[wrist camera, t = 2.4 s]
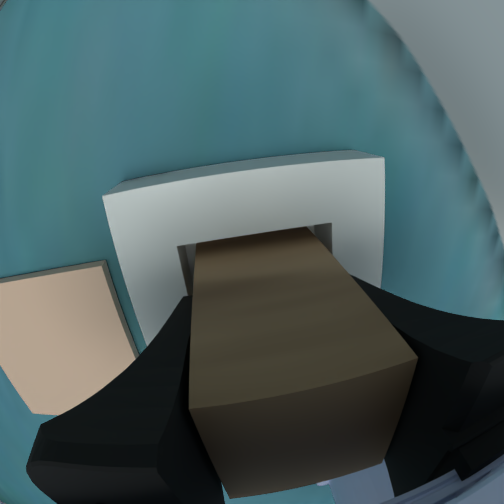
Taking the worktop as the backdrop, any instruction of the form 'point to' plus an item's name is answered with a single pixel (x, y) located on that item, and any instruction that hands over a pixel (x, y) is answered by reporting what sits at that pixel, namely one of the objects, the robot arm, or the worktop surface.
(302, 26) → the worktop surface
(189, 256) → the pocket block
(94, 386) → the pad
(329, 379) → the peg
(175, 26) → the worktop surface
